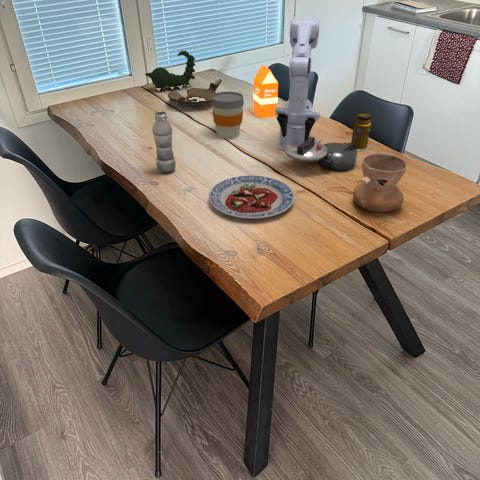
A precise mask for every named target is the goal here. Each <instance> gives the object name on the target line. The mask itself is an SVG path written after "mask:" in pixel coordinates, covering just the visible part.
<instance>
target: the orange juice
mask: <svg viewBox="0 0 480 480" xmlns="http://www.w3.org/2000/svg"><path fill="white" fill-rule="evenodd" d="M278 93H279V82H278V80H277V79H276V78H275V76H274V74H273V73H272V71H271V69H270V68H269V67H266V66H265V65H264V64H261V66H260V68H259V69H258V70H257V73H256V74H255V76H254V78H253V93H252V94H253V99H252V101H253V103H252V105H253V107H252V108H253V109H252V111H254V112H255V113H256V114H257V115H258V116H259V117H260V118H264V119H267V118H266V117H271V118H275V117H274V116H277V117H278V115H275V108H277V107H278V100H279V99H278V98H279V97H278V96H279V94H278ZM255 113H254V114H255ZM256 114H255V115H256ZM257 115H256V116H257ZM258 116H257V117H258ZM259 117H258V118H259ZM260 118H259V119H260Z"/></svg>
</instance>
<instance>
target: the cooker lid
mask: <svg viewBox="0 0 480 480" xmlns="http://www.w3.org/2000/svg"><path fill="white" fill-rule="evenodd" d="M285 154H286V156H287V157H289V158H291V159H293V160H296V161H300V162H301V161H302V162H318V160H321V159H323V158H325V157H326V156H327V148H326V147H325V146H324V145H323V144H322V143H321V139H316V137H314V136H309V138H308V140H307V141H296V142H292V143H290V144H288V145H287V146H286V150H285Z"/></svg>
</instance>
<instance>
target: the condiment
mask: <svg viewBox="0 0 480 480" xmlns="http://www.w3.org/2000/svg"><path fill="white" fill-rule="evenodd" d="M371 120H372V115H371V114H369V113H366V112H360V113H357V114H356V117H355V121H354V123H353V129H352V136H351V142H348V143H349V144H353V145H352V146H353V147H354V148H356V150H357V152H360V151H364V150H367V149H371V148H373V146H372V145H370V144H368V143H369V139H370V132H371V127H372V123H371V122H372V121H371Z"/></svg>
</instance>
